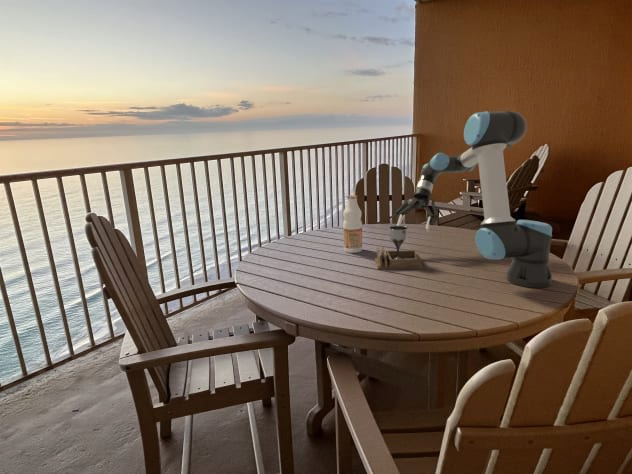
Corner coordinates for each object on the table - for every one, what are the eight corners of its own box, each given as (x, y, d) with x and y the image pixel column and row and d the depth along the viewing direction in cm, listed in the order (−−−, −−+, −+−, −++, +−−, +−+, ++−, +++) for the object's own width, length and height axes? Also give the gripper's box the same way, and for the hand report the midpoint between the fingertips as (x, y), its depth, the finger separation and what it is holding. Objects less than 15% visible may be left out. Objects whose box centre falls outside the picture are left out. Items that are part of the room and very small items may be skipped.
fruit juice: (339, 250, 193) (338, 196, 186) (352, 246, 199) (351, 193, 192) (353, 254, 186) (353, 197, 179) (366, 250, 192) (365, 195, 185)
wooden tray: (422, 268, 163) (422, 255, 161) (378, 269, 164) (378, 256, 162) (415, 258, 176) (416, 246, 175) (374, 259, 178) (374, 247, 176)
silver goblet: (405, 257, 175) (406, 225, 172) (407, 262, 168) (408, 229, 164) (388, 257, 176) (388, 225, 173) (389, 262, 169) (389, 229, 165)
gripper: (450, 197, 180) (440, 235, 171) (400, 195, 193) (388, 230, 185) (448, 188, 174) (437, 226, 166) (396, 186, 187) (384, 222, 179)
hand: (412, 228), depth 175 cm, fingers open, 13 cm apart
